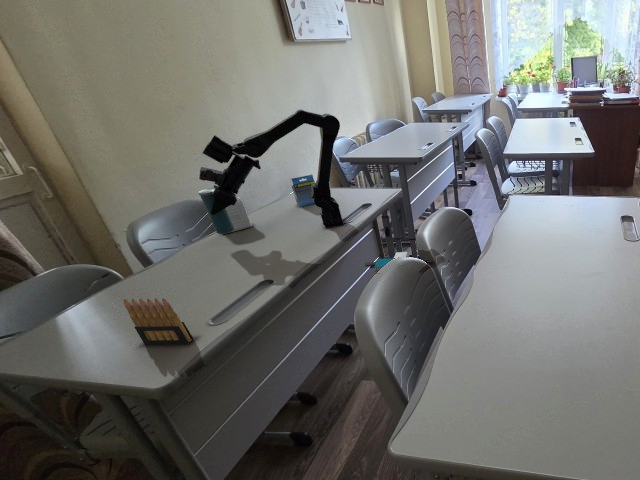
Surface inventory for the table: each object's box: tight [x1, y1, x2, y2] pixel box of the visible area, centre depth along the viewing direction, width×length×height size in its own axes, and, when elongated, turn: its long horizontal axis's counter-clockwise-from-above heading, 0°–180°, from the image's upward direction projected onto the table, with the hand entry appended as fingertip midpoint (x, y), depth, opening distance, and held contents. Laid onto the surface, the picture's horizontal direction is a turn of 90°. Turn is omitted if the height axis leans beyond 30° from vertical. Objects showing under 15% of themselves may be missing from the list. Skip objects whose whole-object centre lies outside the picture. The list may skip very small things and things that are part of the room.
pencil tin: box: [198, 187, 234, 235], centre depth 131 cm, size 6×6×14 cm
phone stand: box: [364, 251, 432, 274], centre depth 121 cm, size 20×12×2 cm, turn 91°
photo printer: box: [223, 196, 252, 235], centre depth 148 cm, size 10×4×12 cm, turn 134°
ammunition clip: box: [123, 297, 194, 346], centre depth 89 cm, size 11×2×12 cm, turn 88°
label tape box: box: [290, 174, 316, 208], centre depth 171 cm, size 9×4×12 cm, turn 130°
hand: (212, 211), depth 131 cm, fingers closed on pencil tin, 5 cm apart
